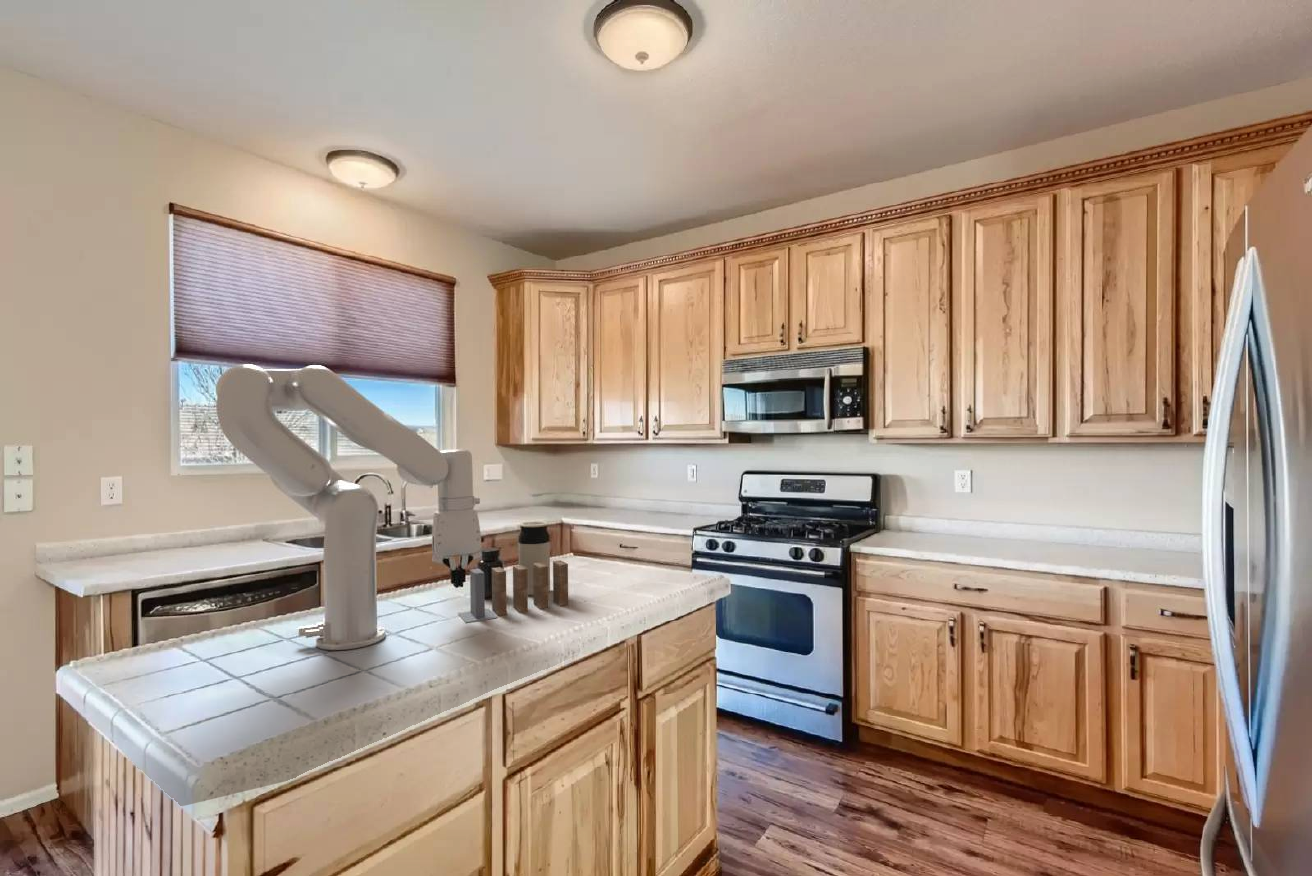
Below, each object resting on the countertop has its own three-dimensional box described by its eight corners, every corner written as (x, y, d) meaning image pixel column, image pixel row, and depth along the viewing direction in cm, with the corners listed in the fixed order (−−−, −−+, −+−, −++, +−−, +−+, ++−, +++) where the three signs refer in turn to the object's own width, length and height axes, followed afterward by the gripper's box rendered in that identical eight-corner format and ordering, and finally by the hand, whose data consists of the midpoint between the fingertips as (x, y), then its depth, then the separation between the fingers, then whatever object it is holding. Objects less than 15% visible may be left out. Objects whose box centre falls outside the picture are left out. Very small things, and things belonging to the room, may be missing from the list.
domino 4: (540, 609, 147) (539, 567, 147) (533, 604, 151) (533, 563, 151) (548, 608, 148) (547, 566, 148) (541, 603, 152) (541, 562, 152)
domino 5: (560, 606, 150) (559, 564, 149) (553, 601, 154) (552, 561, 154) (568, 605, 150) (567, 563, 150) (561, 600, 155) (560, 560, 155)
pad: (465, 622, 137) (465, 622, 137) (458, 613, 144) (458, 612, 144) (497, 618, 141) (497, 617, 141) (488, 609, 148) (488, 608, 148)
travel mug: (542, 596, 159) (541, 525, 158) (513, 595, 160) (512, 525, 160) (554, 589, 166) (554, 521, 166) (527, 587, 168) (526, 520, 168)
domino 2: (497, 616, 142) (497, 572, 142) (492, 610, 147) (491, 568, 147) (506, 614, 143) (506, 571, 143) (500, 609, 148) (500, 567, 147)
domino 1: (475, 618, 140) (475, 573, 140) (470, 613, 144) (470, 569, 144) (484, 617, 141) (484, 572, 141) (479, 611, 145) (478, 568, 145)
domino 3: (519, 612, 145) (518, 569, 145) (513, 607, 149) (512, 565, 149) (527, 611, 146) (527, 568, 146) (521, 606, 150) (521, 564, 150)
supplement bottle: (471, 598, 158) (470, 551, 157) (486, 591, 164) (485, 546, 164) (495, 600, 156) (494, 552, 156) (509, 593, 162) (508, 547, 162)
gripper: (485, 500, 147) (487, 578, 147) (418, 505, 140) (420, 587, 140) (493, 503, 140) (495, 585, 141) (423, 509, 133) (425, 595, 134)
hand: (458, 586), depth 140 cm, fingers closed
